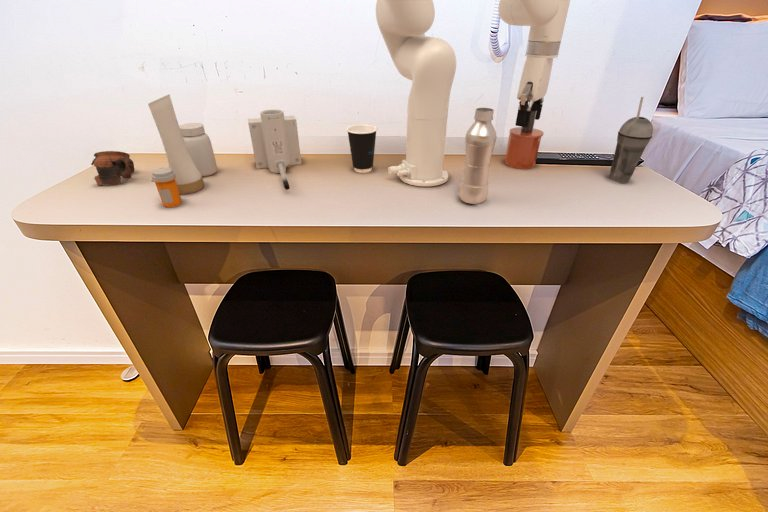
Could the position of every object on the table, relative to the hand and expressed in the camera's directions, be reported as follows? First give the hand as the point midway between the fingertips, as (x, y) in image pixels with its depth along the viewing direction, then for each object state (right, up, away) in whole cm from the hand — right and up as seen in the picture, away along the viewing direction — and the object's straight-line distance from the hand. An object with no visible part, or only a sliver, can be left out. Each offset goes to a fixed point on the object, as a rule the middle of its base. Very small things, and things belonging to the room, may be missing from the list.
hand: (527, 122), depth 103 cm
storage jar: (0, -10, +6) cm, 11 cm away
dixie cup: (-44, -12, +2) cm, 46 cm away
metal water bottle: (-18, -23, -15) cm, 33 cm away
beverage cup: (+22, -16, -4) cm, 28 cm away
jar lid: (0, -2, +2) cm, 3 cm away
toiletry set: (-86, -19, -8) cm, 88 cm away
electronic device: (-65, -15, -2) cm, 66 cm away
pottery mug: (-105, -16, -4) cm, 107 cm away
